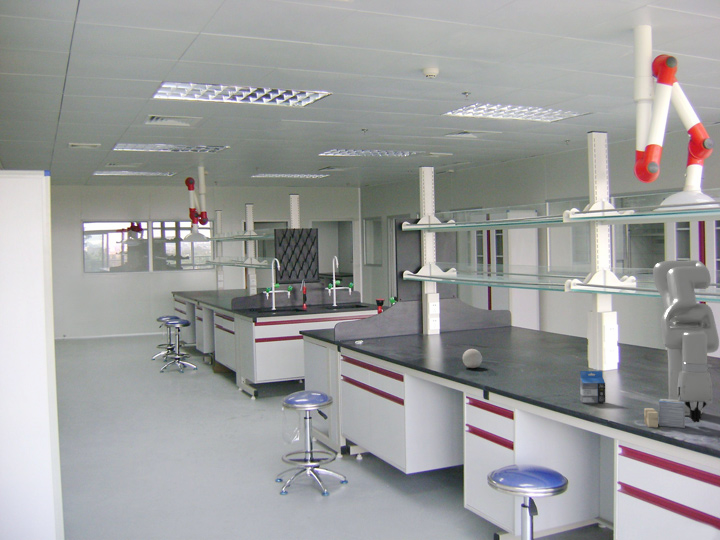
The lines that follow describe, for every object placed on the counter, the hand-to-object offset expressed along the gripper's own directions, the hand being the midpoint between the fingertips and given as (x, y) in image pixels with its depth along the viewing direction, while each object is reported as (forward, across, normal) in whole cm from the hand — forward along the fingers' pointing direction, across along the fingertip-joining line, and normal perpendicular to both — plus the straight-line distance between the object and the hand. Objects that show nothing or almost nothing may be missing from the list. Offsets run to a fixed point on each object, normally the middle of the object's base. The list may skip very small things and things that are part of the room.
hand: (695, 420), depth 219 cm
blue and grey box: (+2, +28, -32) cm, 42 cm away
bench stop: (+2, +14, 0) cm, 14 cm away
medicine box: (+2, +8, 0) cm, 8 cm away
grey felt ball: (+1, +76, -103) cm, 128 cm away
